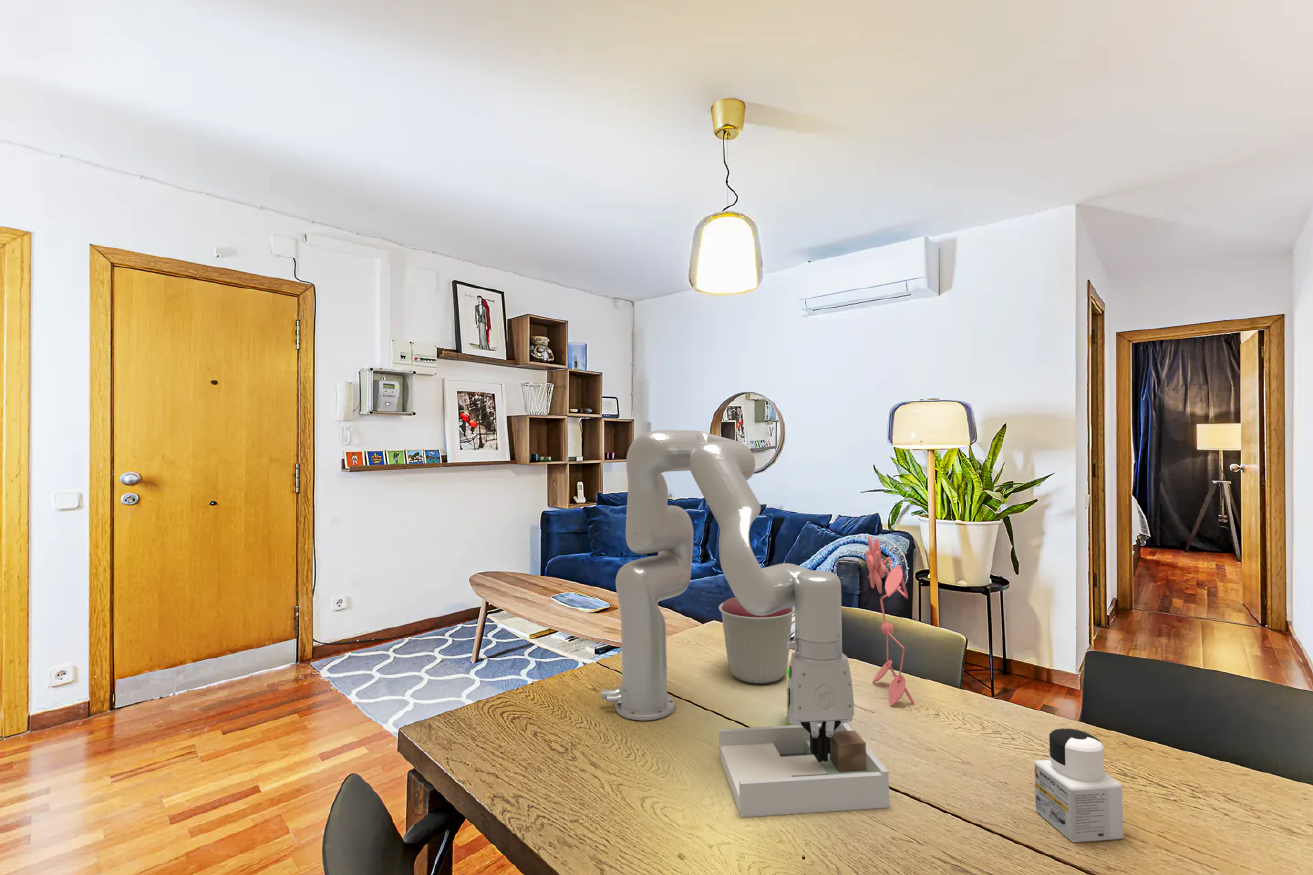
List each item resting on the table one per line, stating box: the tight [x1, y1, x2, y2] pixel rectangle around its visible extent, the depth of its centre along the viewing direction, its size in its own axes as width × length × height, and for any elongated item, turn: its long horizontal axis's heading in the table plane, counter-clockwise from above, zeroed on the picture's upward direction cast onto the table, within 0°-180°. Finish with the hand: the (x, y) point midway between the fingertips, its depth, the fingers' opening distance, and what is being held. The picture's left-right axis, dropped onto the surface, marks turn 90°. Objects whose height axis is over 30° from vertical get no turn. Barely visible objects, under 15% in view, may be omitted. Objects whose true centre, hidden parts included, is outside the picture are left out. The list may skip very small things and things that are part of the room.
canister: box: [718, 596, 795, 685], centre depth 150 cm, size 18×18×21 cm
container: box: [1033, 728, 1124, 843], centre depth 90 cm, size 8×8×13 cm
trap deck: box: [718, 723, 890, 818], centre depth 104 cm, size 23×18×6 cm
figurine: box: [854, 535, 915, 714], centre depth 138 cm, size 15×26×35 cm, turn 174°
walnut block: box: [829, 729, 867, 773], centre depth 103 cm, size 4×4×4 cm
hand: (820, 757), depth 104 cm, fingers closed
